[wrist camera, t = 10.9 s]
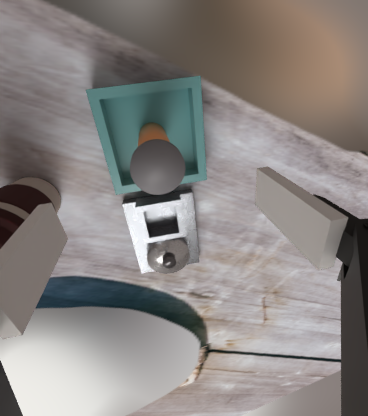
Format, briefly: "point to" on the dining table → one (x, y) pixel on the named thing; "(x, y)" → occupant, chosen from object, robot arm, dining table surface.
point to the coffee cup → (23, 203)
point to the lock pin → (156, 161)
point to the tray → (145, 113)
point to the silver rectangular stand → (163, 231)
